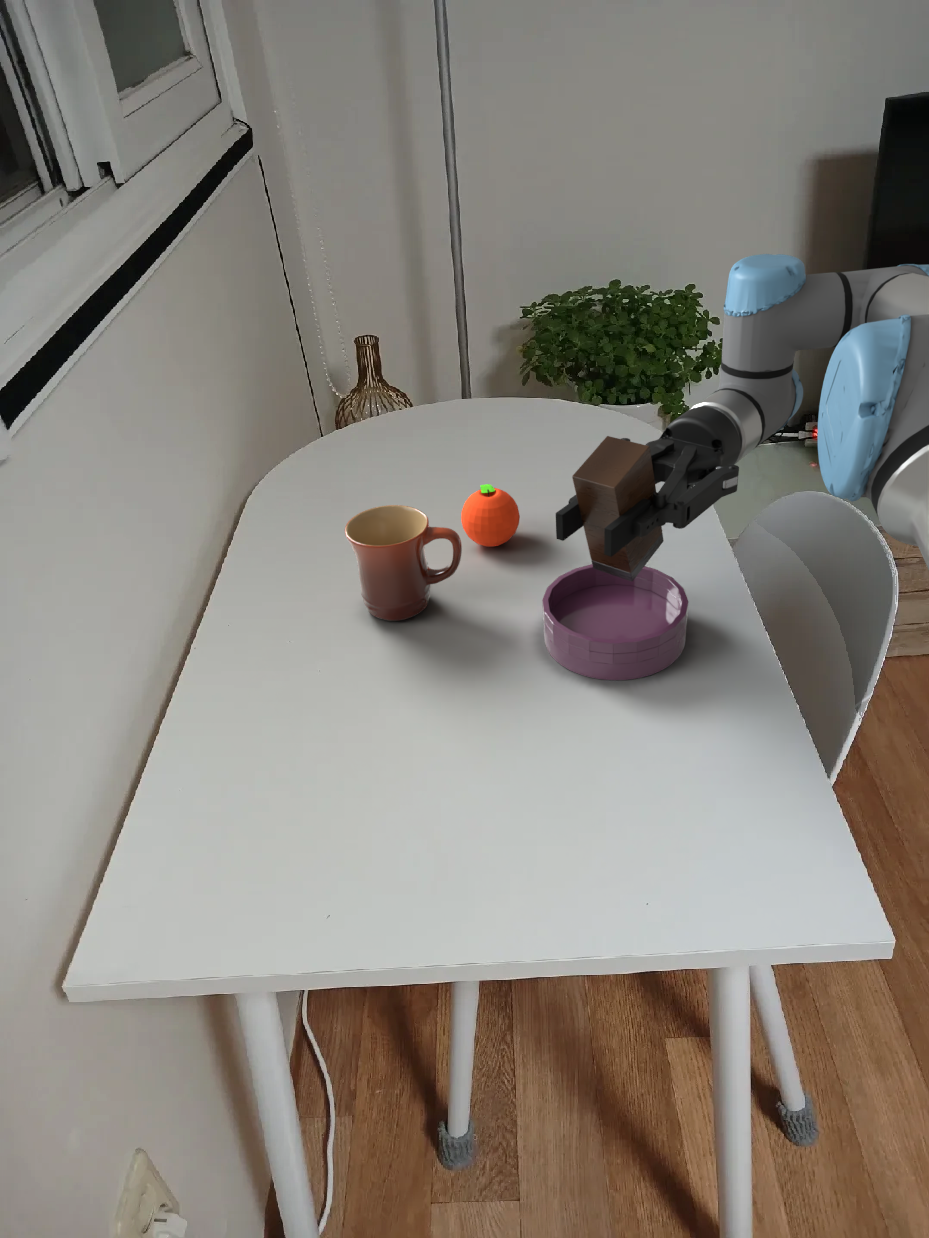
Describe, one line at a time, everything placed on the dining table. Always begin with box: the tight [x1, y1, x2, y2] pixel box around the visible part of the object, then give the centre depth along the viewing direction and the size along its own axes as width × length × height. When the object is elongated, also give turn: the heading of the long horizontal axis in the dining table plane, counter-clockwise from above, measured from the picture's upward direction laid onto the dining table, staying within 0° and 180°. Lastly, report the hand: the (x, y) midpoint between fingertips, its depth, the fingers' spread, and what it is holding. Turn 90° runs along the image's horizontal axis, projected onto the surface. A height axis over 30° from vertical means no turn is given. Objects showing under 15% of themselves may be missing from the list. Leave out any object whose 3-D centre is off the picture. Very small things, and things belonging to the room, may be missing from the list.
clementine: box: [460, 483, 521, 548], centre depth 113 cm, size 8×7×7 cm
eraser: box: [571, 435, 665, 582], centre depth 89 cm, size 4×6×12 cm
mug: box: [344, 504, 463, 622], centre depth 102 cm, size 12×9×10 cm
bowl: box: [541, 563, 690, 681], centre depth 96 cm, size 14×14×4 cm
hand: (583, 534), depth 85 cm, fingers closed on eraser, 4 cm apart
